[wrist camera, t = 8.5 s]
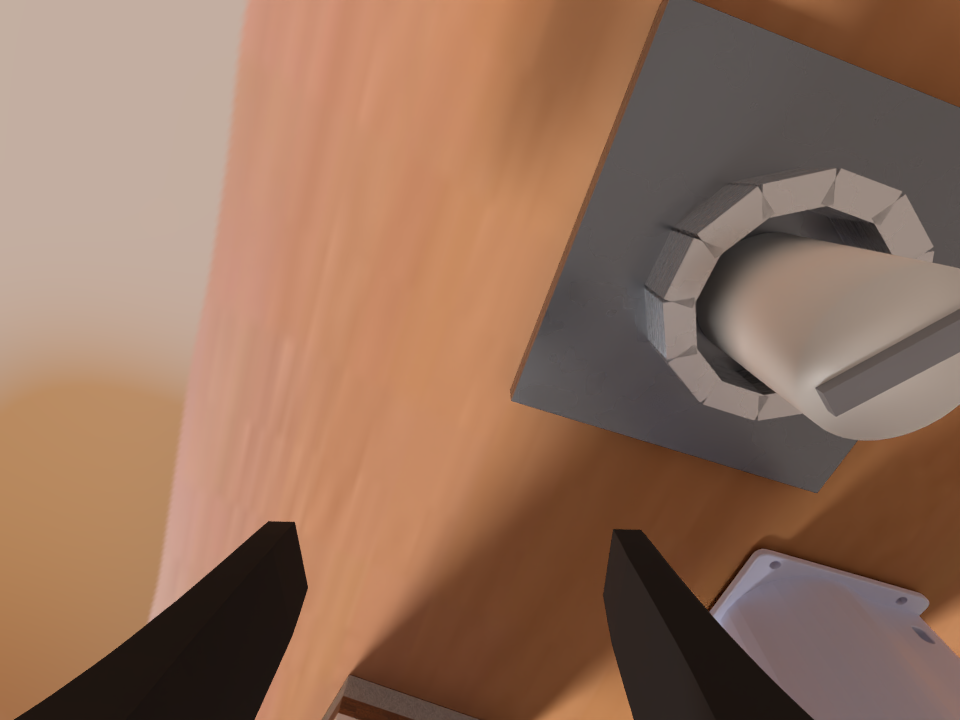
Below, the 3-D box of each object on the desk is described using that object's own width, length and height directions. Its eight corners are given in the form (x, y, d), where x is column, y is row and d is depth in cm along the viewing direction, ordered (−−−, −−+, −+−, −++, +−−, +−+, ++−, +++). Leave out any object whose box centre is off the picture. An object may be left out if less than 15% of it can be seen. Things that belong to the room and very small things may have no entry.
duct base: (1041, 155, 15) (1164, 151, 12) (802, 478, 20) (850, 527, 18) (660, 4, 14) (701, -38, 11) (510, 389, 19) (512, 426, 16)
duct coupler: (794, 204, 15) (982, 222, 9) (846, 308, 16) (1039, 382, 10) (673, 284, 16) (771, 346, 10) (730, 376, 17) (846, 476, 12)
